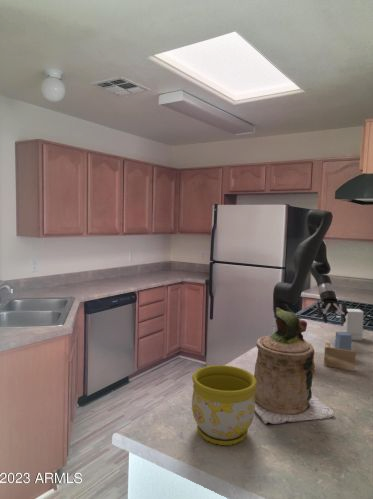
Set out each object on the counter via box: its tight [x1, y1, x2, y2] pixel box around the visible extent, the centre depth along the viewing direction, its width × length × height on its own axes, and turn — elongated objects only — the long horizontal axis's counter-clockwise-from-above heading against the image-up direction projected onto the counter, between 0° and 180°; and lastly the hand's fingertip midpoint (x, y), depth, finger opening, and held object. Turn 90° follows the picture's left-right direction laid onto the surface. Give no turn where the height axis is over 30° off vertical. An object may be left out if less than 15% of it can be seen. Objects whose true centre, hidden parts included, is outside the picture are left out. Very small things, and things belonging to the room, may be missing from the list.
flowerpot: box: [191, 364, 257, 446], centre depth 104 cm, size 18×18×16 cm
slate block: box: [334, 331, 352, 350], centre depth 167 cm, size 5×5×11 cm
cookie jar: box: [253, 308, 335, 425], centre depth 122 cm, size 25×25×32 cm
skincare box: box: [342, 308, 365, 341], centre depth 195 cm, size 8×7×16 cm
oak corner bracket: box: [323, 339, 357, 372], centre depth 159 cm, size 11×12×8 cm
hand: (335, 322), depth 176 cm, fingers open, 8 cm apart
